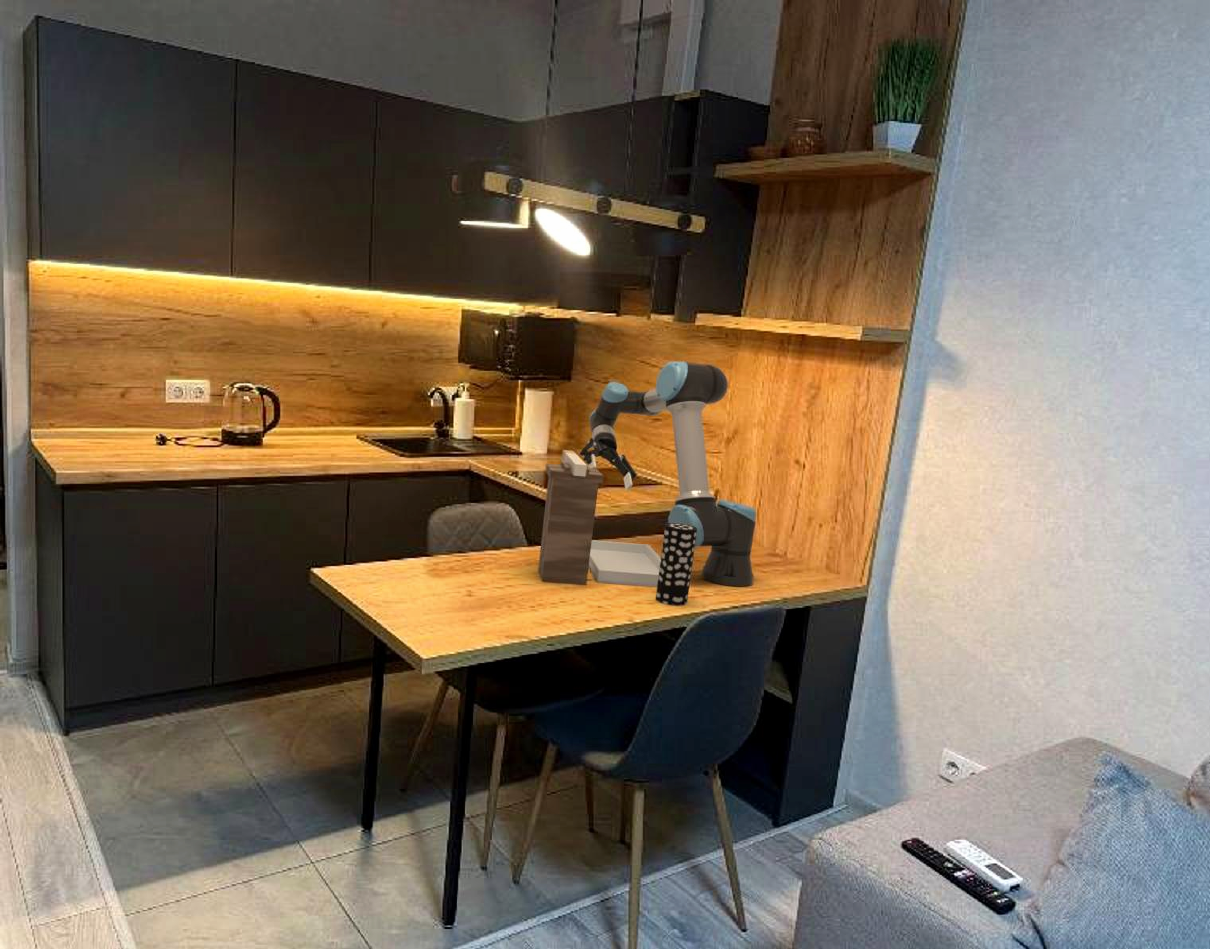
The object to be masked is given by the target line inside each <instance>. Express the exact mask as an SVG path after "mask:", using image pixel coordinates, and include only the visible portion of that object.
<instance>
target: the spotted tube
mask: <svg viewBox="0 0 1210 949" xmlns="http://www.w3.org/2000/svg"><path fill="white" fill-rule="evenodd" d="M663 532H664V534H663V540H662V548H661V554H660V555H661V556H660V558H661V561H660V569H659V576H658V584H657V587H656V592H655V593H656V594H655V600H656V601H657V602H659V603H660V604H665V605H669V606H677V607H679V606H680V607H681V606H686V605H687V604H688V598H689V593H690V592H689V591H690V583H691V576H692V572H693V571H692V570H693V569H692V568H693V562H694V561H693V560H694V556H695V555H694V554H695V549H696V547H695V541H696V534H697V528H696V527H694V526H690V525H686V524H679V523H668V522H667V523H665V525H664V531H663Z"/></svg>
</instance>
